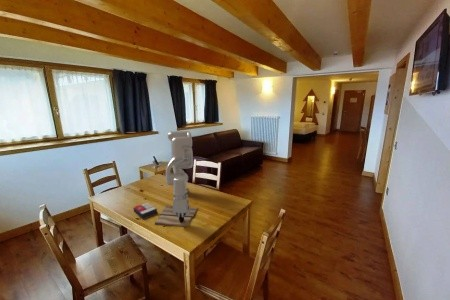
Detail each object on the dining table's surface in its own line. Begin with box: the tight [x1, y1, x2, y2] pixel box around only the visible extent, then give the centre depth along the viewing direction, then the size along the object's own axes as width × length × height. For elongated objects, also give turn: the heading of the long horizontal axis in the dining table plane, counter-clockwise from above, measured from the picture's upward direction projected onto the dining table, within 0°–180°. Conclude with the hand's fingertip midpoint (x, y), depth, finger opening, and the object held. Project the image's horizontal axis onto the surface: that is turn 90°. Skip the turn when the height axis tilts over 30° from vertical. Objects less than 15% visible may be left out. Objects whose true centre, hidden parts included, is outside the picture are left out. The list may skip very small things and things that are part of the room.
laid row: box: [159, 205, 198, 219], centre depth 153 cm, size 12×24×1 cm, turn 83°
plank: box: [154, 214, 192, 227], centre depth 142 cm, size 9×22×1 cm, turn 83°
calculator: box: [133, 202, 158, 220], centre depth 154 cm, size 11×4×15 cm
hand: (181, 221), depth 140 cm, fingers closed
